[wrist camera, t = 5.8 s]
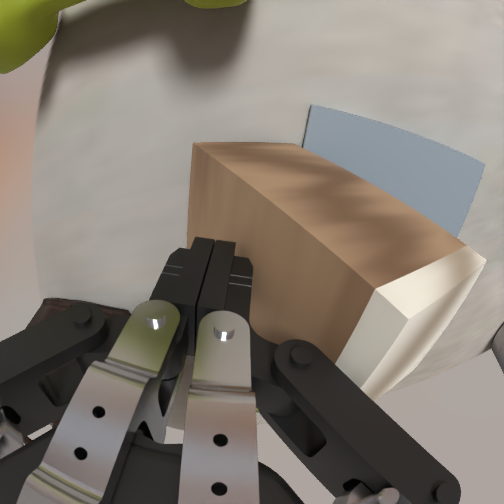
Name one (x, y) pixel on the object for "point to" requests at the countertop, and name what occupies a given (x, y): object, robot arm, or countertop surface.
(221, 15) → the countertop surface
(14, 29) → the dumbbell
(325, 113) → the mat
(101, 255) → the countertop surface
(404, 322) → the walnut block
